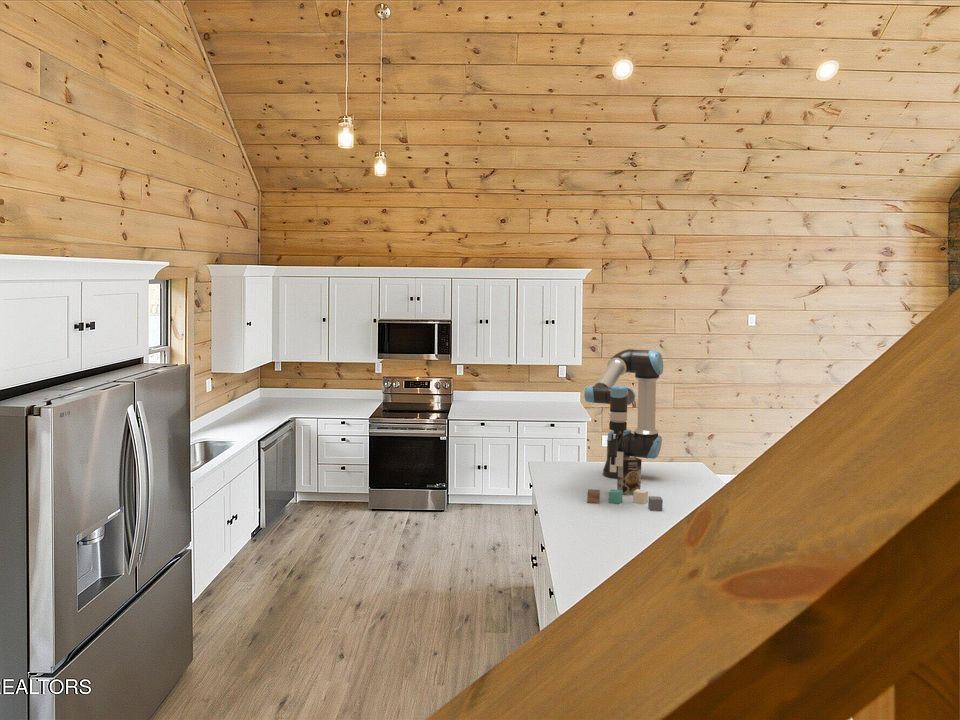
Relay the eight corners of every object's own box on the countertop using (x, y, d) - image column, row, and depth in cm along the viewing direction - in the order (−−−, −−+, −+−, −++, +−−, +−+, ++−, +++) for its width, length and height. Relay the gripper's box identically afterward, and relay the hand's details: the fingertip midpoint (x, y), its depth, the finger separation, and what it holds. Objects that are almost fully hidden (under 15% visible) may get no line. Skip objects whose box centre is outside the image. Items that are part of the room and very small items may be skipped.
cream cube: (636, 500, 345) (637, 489, 345) (647, 501, 342) (648, 490, 342) (633, 502, 341) (633, 491, 340) (644, 504, 338) (644, 493, 338)
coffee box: (622, 494, 353) (624, 460, 352) (616, 491, 359) (617, 457, 358) (640, 493, 356) (642, 459, 354) (634, 490, 362) (635, 456, 360)
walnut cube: (588, 500, 343) (588, 489, 343) (599, 500, 342) (599, 489, 342) (587, 503, 339) (587, 491, 338) (598, 503, 337) (599, 492, 337)
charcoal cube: (648, 507, 333) (648, 496, 332) (659, 507, 333) (660, 496, 332) (650, 510, 328) (650, 499, 327) (662, 511, 328) (662, 499, 327)
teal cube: (611, 500, 344) (611, 489, 344) (622, 501, 342) (622, 490, 342) (608, 502, 339) (609, 491, 339) (619, 504, 337) (620, 493, 337)
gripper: (615, 416, 351) (614, 463, 352) (603, 424, 328) (601, 473, 329) (632, 418, 348) (630, 464, 349) (620, 425, 325) (618, 475, 326)
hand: (616, 469), depth 339 cm, fingers open, 13 cm apart
